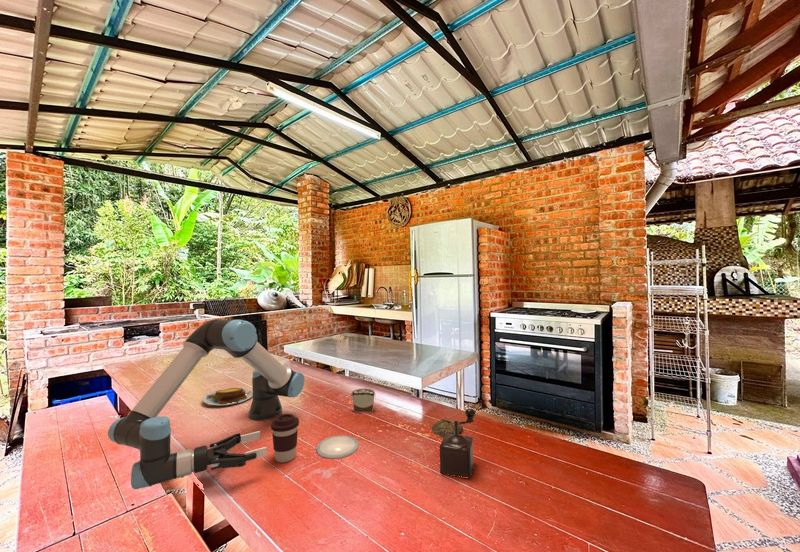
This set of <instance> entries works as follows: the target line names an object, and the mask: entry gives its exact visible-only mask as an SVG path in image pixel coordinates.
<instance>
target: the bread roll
mask: <svg viewBox="0 0 800 552" xmlns="http://www.w3.org/2000/svg"><path fill="white" fill-rule="evenodd" d="M454 421H455V420H453V419H448V418H442V419H440V420H437V422H435V423H434V424H433V425H432V426H431V430H432V433H433V434H434V433H435V434H434V435H436V434H437V435H436V436H438V435H439V437H441V436H442V437H443V438H444V436H445V433H446V434H455V427H454V424H455V423H454ZM461 432H463V426H462V424H460V425H459V426H458V434H459V435H461ZM442 437H441V438H442ZM443 438H442V439H443Z"/></svg>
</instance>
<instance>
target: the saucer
mask: <svg viewBox="0 0 800 552" xmlns="http://www.w3.org/2000/svg"><path fill="white" fill-rule="evenodd" d="M358 448H359V442H358V440H357V439H356V438H354V437H352V436H349V435H334V436H329V437H327V438H324V439H322V440H321V441H320V442H318V444H317V445H316V453H317V455H318V456H320V457H322V458H324V459H331V460H335V459H342V458H346V457H348V456H351V455H353V454H354V453H355V452H356V451H357V450H358Z"/></svg>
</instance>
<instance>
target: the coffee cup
mask: <svg viewBox="0 0 800 552" xmlns="http://www.w3.org/2000/svg"><path fill="white" fill-rule="evenodd" d="M299 425H300V419H299V418H298V417H296V416H295V415H294V414H292V413H285V414H280V415H278V416H276V417H275V419H274V420H272V421H271V423H270V429H271V431H272V434H271V435H272V445H273V450H274V452H273V453H274V459H275V462H278V463H288V462H291V461H292V460H293V459H295V457H296V455H297V454H296V453H297V445H298V431H299V429H298V427H299Z"/></svg>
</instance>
